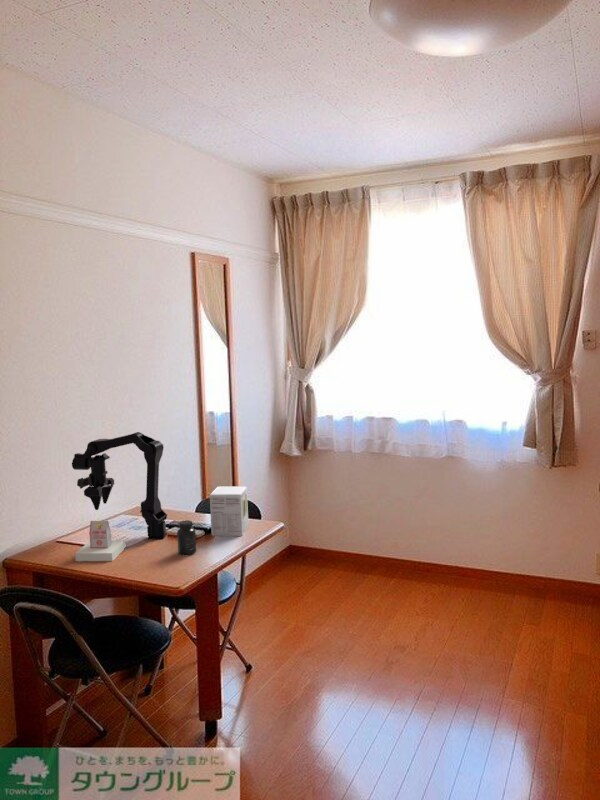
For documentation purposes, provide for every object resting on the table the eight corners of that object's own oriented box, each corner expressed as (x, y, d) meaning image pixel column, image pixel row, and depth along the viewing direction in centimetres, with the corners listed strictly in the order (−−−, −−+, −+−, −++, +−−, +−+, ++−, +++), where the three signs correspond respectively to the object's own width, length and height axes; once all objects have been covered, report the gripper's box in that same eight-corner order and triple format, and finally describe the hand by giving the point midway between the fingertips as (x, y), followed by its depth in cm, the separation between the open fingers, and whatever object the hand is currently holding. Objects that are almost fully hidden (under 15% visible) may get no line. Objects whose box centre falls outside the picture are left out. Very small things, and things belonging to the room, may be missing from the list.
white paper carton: (94, 544, 231) (92, 519, 230) (111, 544, 230) (109, 519, 229) (90, 548, 227) (88, 522, 226) (107, 548, 227) (106, 522, 226)
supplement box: (242, 536, 244) (240, 494, 243) (211, 536, 246) (209, 494, 244) (249, 525, 258) (247, 486, 256) (219, 525, 259) (217, 486, 257)
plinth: (125, 547, 236) (125, 540, 235) (112, 561, 222) (112, 553, 221) (91, 547, 237) (90, 540, 236) (75, 561, 223) (75, 553, 222)
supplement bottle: (174, 552, 228) (173, 522, 227) (190, 548, 233) (189, 518, 231) (183, 557, 223) (182, 526, 222) (199, 552, 227) (198, 522, 226)
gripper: (87, 465, 258) (90, 500, 260) (69, 475, 240) (72, 513, 242) (113, 464, 258) (115, 500, 260) (97, 475, 239) (100, 513, 241)
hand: (101, 506), depth 251 cm, fingers open, 9 cm apart
